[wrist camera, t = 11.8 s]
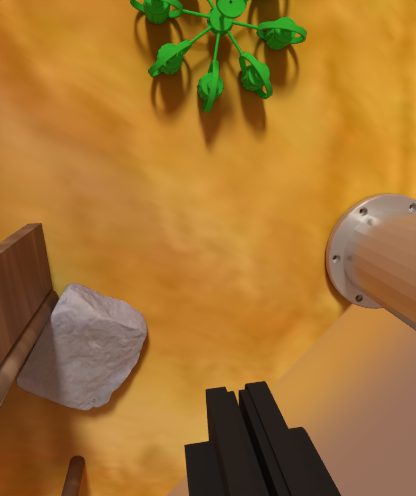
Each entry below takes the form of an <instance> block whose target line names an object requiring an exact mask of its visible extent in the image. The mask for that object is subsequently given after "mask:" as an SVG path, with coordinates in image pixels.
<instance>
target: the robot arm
mask: <svg viewBox="0 0 416 496" xmlns="http://www.w3.org/2000/svg"><path fill="white" fill-rule="evenodd" d="M360 209H361V211H360ZM334 256H335V257H334ZM333 257H334V258H333ZM326 268H327V272H328V275H329V278H330V281H331V282H332V284H333V286H334V287H335V289H336V290H337V291H338V292H339V293H340V294H341V295H342V296H343V297H345V298H346V299H347V300H348V301H350V302H352V303H354V304H356V305H358V306H362V307H365V308H376V309H377V308H385V309H386V310H388V311H389V312H390V313H392V314H393V315H395V316H396V317H398V318H399V319H400V320H402V321H403V322H405V323H406V324H407V325H409V326H410V327H412V328H413V329H414V330H416V200H415V199H413V198H411V197H408V196H404V195H400V194H392V193H387V194H378V195H374V196H371V197H368V198H366V199H364V200H362V201H360V202H358V203H357V204H355V205H354V206H352V207H351V208H350V209H348V211H347V212H346V213H345V214H344V215H343V216H342V217H341V218H340V219H339V221H338V222H337V224H336V225H335V227H334V228H333V231H332V233H331V235H330V237H329V240H328V244H327V248H326ZM206 405H207V419H208V434H209V441H207V442H201V443H194V444H188V445H185V458H186V469H187V478H188V488H189V496H341V495H340V493H339V491H338V489H337V487H336V485H335V484H334V482H333V480H332V478H331V476H330V474H329V473H328V471H327V469H326V467H325V465H324V463H323V461H322V460H321V458H320V456H319V454H318V452H317V450H316V449H315V447H314V445H313V443H312V441H311V439H310V437H309V436H308V434H307V432H306V431H305V429H304V428H303V427H298V428H291V429H288V427H287V425H286V423H285V421H284V419H283V416H282V414H281V412H280V410H279V408H278V406H277V404H276V402H275V400H274V398H273V396H272V394H271V392H270V390H269V388H268V386H267V384H266V382H265V381H262V382H255V383H248V384H245V389H244V390H239V405H238V402H237V399H236V396H235V393H234V391H230V392H227V390H226V387H219V388H212V389H206Z"/></svg>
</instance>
